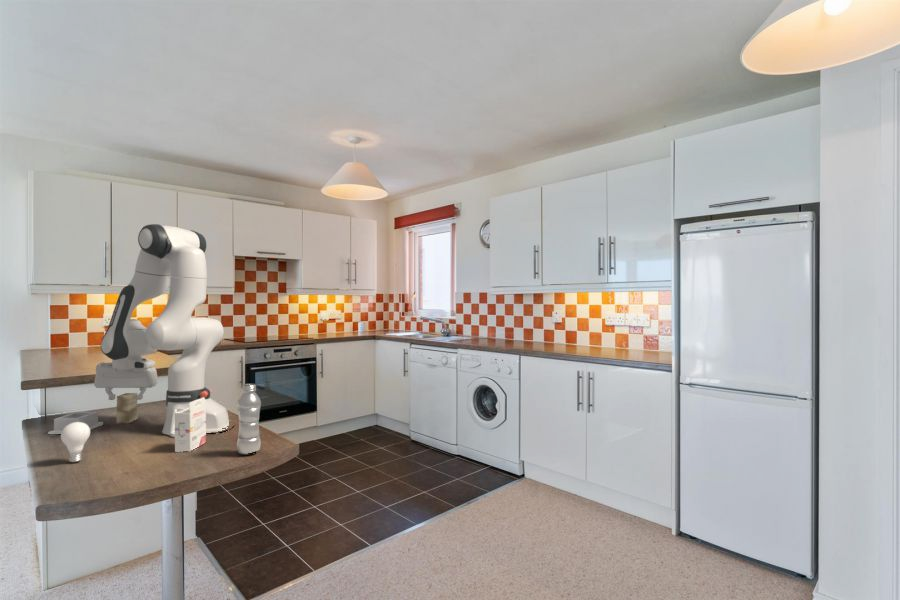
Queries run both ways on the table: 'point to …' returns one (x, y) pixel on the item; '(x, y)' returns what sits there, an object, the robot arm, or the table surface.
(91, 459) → the table surface
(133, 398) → the birch peg block
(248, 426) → the plastic bottle
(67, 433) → the lightbulb
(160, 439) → the table surface
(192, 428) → the ink cartridge box
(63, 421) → the cartridge dock
